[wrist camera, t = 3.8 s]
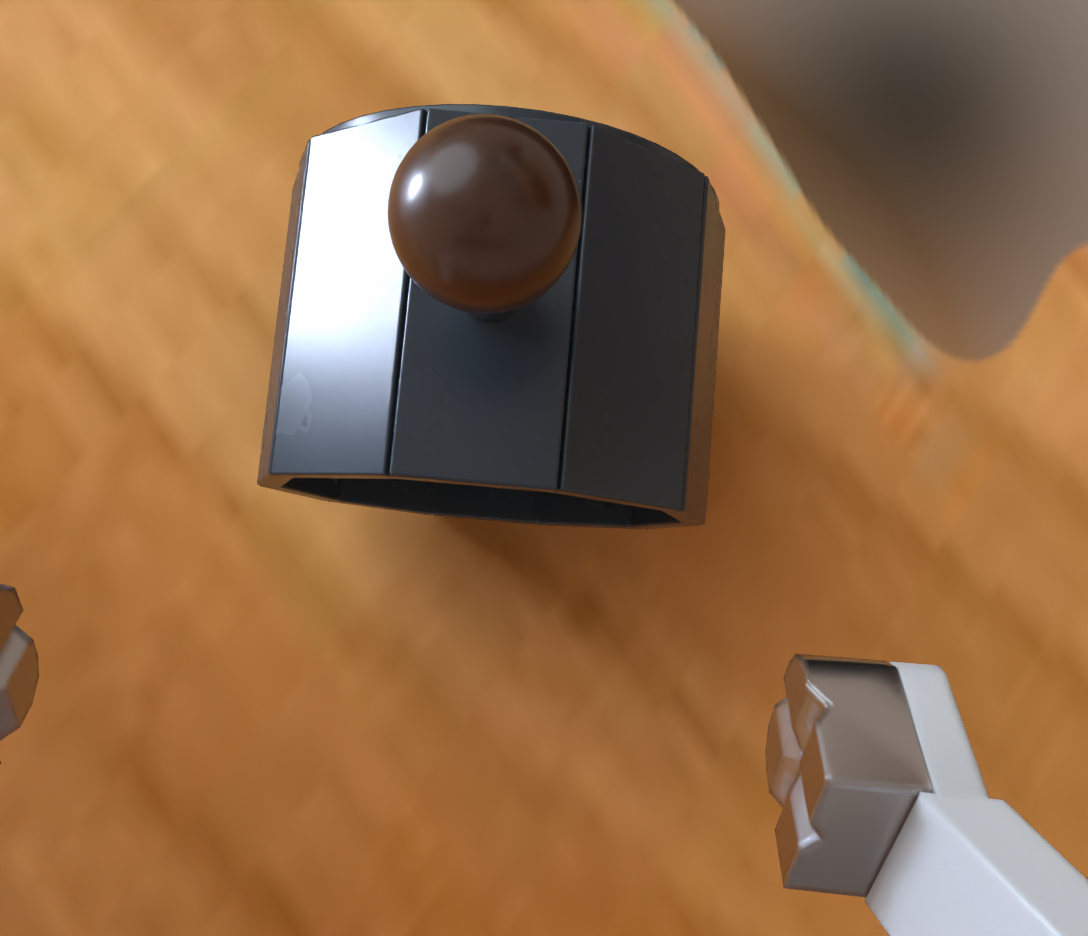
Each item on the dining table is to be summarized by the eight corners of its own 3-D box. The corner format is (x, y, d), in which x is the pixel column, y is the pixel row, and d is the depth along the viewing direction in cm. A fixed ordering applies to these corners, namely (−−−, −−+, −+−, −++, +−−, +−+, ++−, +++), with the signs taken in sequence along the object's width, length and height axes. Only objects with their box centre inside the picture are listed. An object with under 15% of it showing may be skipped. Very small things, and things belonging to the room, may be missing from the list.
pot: (672, 536, 32) (841, 474, 15) (301, 504, 32) (66, 405, 15) (691, 282, 33) (867, -35, 16) (331, 249, 32) (140, -105, 16)
